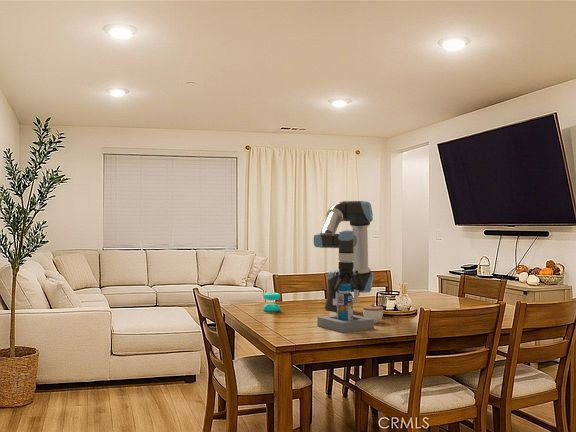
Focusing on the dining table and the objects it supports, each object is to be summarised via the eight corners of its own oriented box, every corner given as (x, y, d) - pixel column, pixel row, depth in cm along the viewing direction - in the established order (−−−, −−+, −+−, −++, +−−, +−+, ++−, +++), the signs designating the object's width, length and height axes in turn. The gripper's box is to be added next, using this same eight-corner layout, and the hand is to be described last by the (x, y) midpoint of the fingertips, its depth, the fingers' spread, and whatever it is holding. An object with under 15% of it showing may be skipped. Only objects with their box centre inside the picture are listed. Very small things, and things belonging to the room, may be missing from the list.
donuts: (283, 293, 350) (269, 295, 344) (283, 311, 350) (269, 312, 344) (273, 291, 358) (259, 293, 352) (273, 308, 358) (259, 310, 352)
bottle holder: (348, 322, 316) (348, 313, 316) (374, 328, 299) (374, 319, 299) (317, 325, 304) (317, 316, 304) (342, 332, 288) (342, 323, 288)
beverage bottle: (334, 323, 306) (333, 283, 306) (350, 322, 308) (349, 283, 308) (340, 326, 298) (339, 286, 298) (356, 325, 300) (355, 285, 300)
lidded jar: (384, 320, 321) (385, 303, 321) (381, 324, 310) (381, 306, 310) (365, 319, 324) (365, 302, 324) (360, 322, 314) (360, 304, 314)
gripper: (360, 259, 312) (359, 300, 312) (321, 262, 298) (321, 305, 298) (369, 260, 305) (369, 302, 306) (331, 263, 291) (330, 307, 292)
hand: (345, 304), depth 302 cm, fingers open, 13 cm apart
